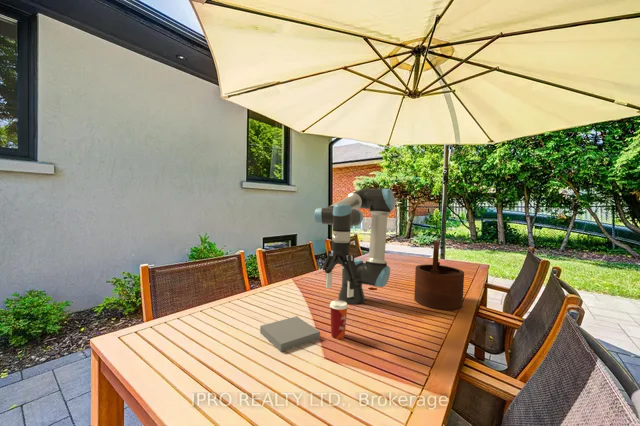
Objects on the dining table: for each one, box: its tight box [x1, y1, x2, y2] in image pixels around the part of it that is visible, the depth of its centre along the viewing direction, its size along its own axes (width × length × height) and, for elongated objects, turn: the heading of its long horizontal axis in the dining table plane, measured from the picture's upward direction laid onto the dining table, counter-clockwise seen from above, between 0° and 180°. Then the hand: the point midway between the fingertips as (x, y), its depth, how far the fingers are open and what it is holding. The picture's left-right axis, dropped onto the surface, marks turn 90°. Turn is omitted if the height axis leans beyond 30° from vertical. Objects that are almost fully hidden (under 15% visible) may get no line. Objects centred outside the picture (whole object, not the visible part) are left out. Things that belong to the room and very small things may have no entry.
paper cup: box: [329, 299, 349, 340], centre depth 115 cm, size 8×8×14 cm
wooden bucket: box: [413, 241, 465, 312], centre depth 159 cm, size 26×26×35 cm
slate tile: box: [259, 316, 321, 353], centre depth 114 cm, size 18×18×3 cm
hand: (339, 292), depth 115 cm, fingers open, 13 cm apart
